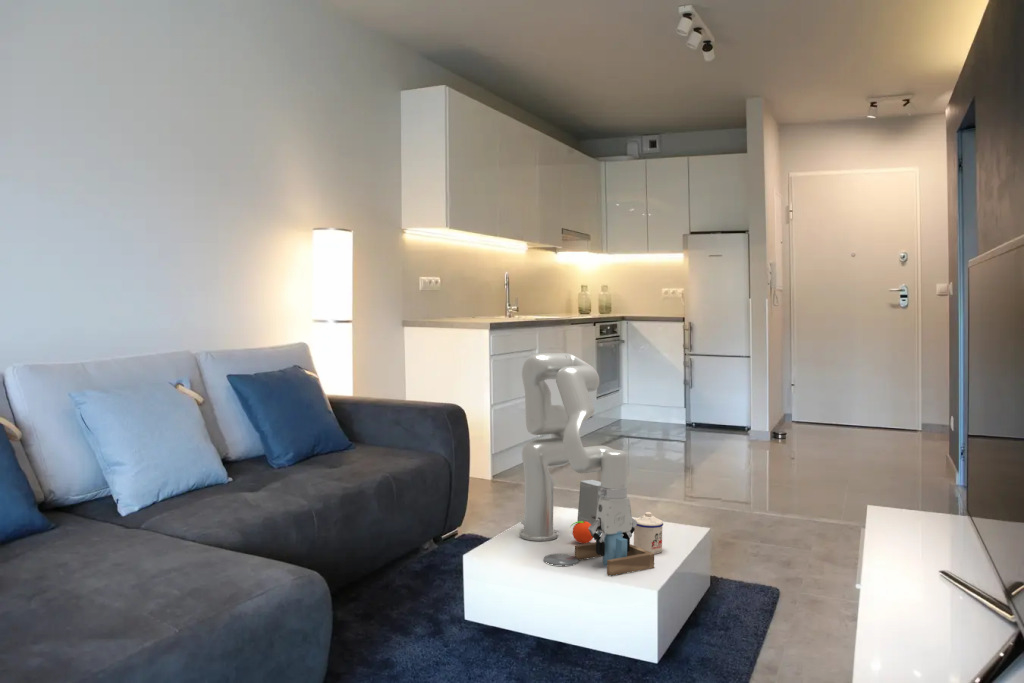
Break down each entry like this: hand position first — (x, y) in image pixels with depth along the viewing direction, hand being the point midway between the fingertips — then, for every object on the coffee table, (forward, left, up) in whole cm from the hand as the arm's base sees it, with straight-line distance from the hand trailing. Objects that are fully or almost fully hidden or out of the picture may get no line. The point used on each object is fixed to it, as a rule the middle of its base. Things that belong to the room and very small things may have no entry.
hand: (612, 552), depth 217 cm
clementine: (-21, +4, -4) cm, 22 cm away
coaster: (-9, -12, -3) cm, 15 cm away
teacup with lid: (-6, +19, -4) cm, 20 cm away
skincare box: (-34, +18, -4) cm, 39 cm away
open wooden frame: (0, 0, -3) cm, 3 cm away
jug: (+1, 0, -3) cm, 3 cm away
